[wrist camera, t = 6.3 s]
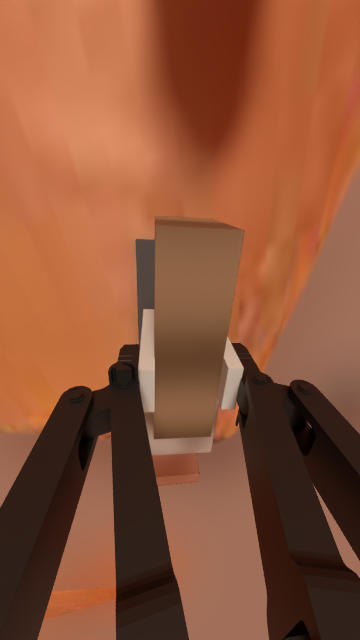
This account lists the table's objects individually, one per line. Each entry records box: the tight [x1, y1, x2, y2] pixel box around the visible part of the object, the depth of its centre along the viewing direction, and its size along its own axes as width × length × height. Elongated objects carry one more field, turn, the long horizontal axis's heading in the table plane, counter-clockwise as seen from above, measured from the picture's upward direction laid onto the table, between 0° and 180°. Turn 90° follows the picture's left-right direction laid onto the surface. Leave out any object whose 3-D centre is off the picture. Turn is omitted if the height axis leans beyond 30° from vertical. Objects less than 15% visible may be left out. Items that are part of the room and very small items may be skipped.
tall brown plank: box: [144, 216, 245, 455], centre depth 17 cm, size 22×8×6 cm, turn 177°
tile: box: [152, 453, 200, 486], centre depth 30 cm, size 7×2×10 cm, turn 87°
